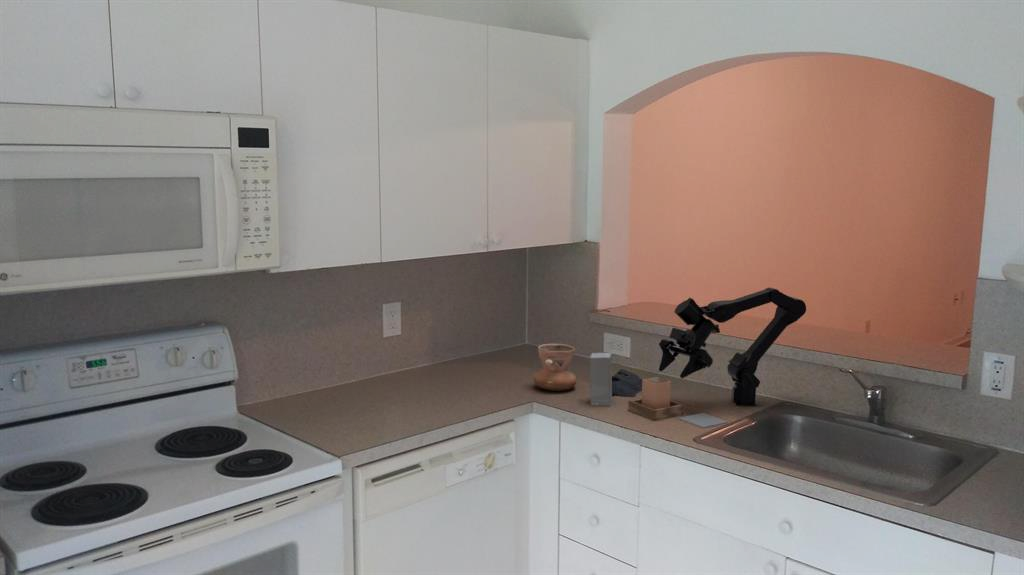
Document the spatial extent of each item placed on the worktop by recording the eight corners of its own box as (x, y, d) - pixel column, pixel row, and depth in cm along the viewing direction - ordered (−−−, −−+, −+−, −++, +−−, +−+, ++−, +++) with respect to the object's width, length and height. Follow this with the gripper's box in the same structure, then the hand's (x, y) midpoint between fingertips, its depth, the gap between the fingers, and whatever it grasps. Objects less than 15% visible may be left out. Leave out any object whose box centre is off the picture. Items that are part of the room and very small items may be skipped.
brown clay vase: (567, 397, 260) (569, 354, 258) (526, 391, 265) (527, 349, 263) (583, 384, 277) (585, 344, 275) (544, 379, 282) (545, 339, 280)
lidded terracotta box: (656, 408, 247) (657, 376, 246) (669, 413, 242) (671, 380, 241) (641, 411, 244) (642, 378, 243) (654, 416, 239) (656, 383, 238)
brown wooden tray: (656, 406, 251) (656, 395, 251) (682, 416, 242) (683, 404, 241) (628, 411, 245) (628, 400, 244) (654, 422, 235) (654, 410, 235)
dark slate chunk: (591, 395, 264) (591, 381, 263) (608, 379, 284) (608, 366, 283) (636, 401, 258) (637, 387, 257) (651, 384, 278) (651, 371, 278)
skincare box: (610, 407, 249) (612, 358, 247) (587, 406, 250) (589, 356, 248) (612, 400, 257) (614, 352, 255) (590, 398, 259) (591, 350, 256)
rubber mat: (702, 415, 243) (702, 412, 242) (727, 424, 234) (727, 421, 234) (678, 420, 237) (678, 417, 237) (703, 429, 229) (703, 427, 229)
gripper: (664, 313, 253) (636, 351, 248) (708, 323, 237) (678, 364, 233) (681, 335, 258) (654, 373, 254) (725, 347, 242) (697, 387, 238)
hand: (670, 374), depth 244 cm, fingers open, 9 cm apart
